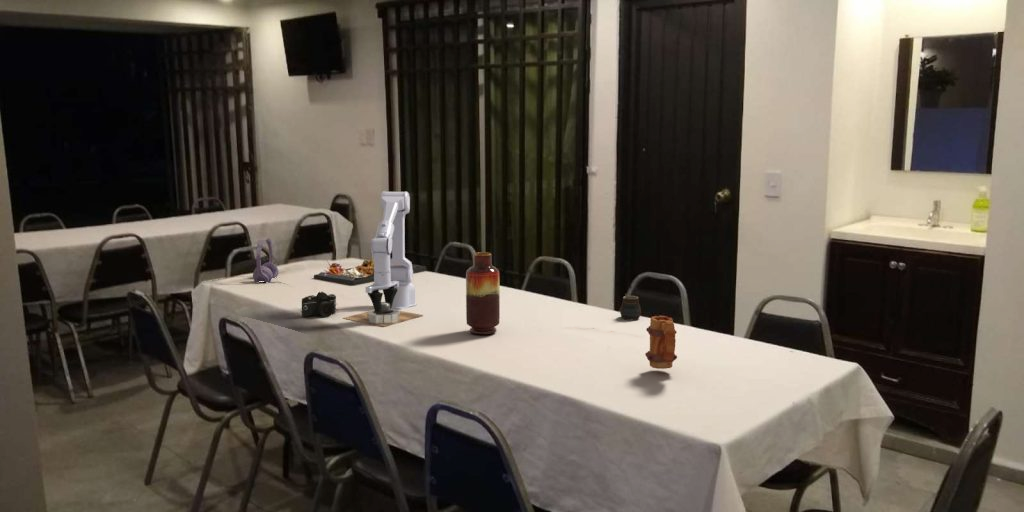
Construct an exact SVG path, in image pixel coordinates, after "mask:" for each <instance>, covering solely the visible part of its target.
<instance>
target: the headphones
mask: <svg viewBox="0 0 1024 512" xmlns="http://www.w3.org/2000/svg"><path fill="white" fill-rule="evenodd" d="M265 242H266V245H267V247H268V251H269V254H268V256H269V259H268V260H269V261H268V262H264V263H263V264H262V262H261V256H262V255H261V253H262V249H263V246H264V244H265ZM273 250H274V249H273V242H272V239H271V238H270V237H260V238H258V240H257V243H256V252H255V253H256V254H255V255H256V260H255V262H256V267H255V268H254V269H253V273H252V278H253V281H254V283H255V282H259V281H264V282H268V283H270V282H271V281H272V280H273V279H272V278H275V277H276V278H277V277H278V276H279V268H278V267H277V265H276V264H275V263H274V251H273ZM276 278H275V279H276ZM271 279H272V280H271ZM269 281H270V282H269Z"/></svg>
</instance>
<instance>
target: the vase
mask: <svg viewBox="0 0 1024 512" xmlns="http://www.w3.org/2000/svg"><path fill="white" fill-rule="evenodd" d="M500 293H501V292H500V271H499V269H498V268H496V266H493V264H492V253H491V252H487V251H486V252H481V251H480V252H474V253H473V266H470V267H469V268H468V269H467V270H466V273H465V302H466V303H465V304H466V305H465V308H466V309H465V311H466V312H465V313H466V315H465V317H466V325H467V326H469V327H470V328H469V333H471V334H474V335H489V334H490V335H491V334H495V333H497V331H498V330H497V328H496V327H497V326H498V325H499V324H500V302H501V301H500V297H501V296H500Z"/></svg>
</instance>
